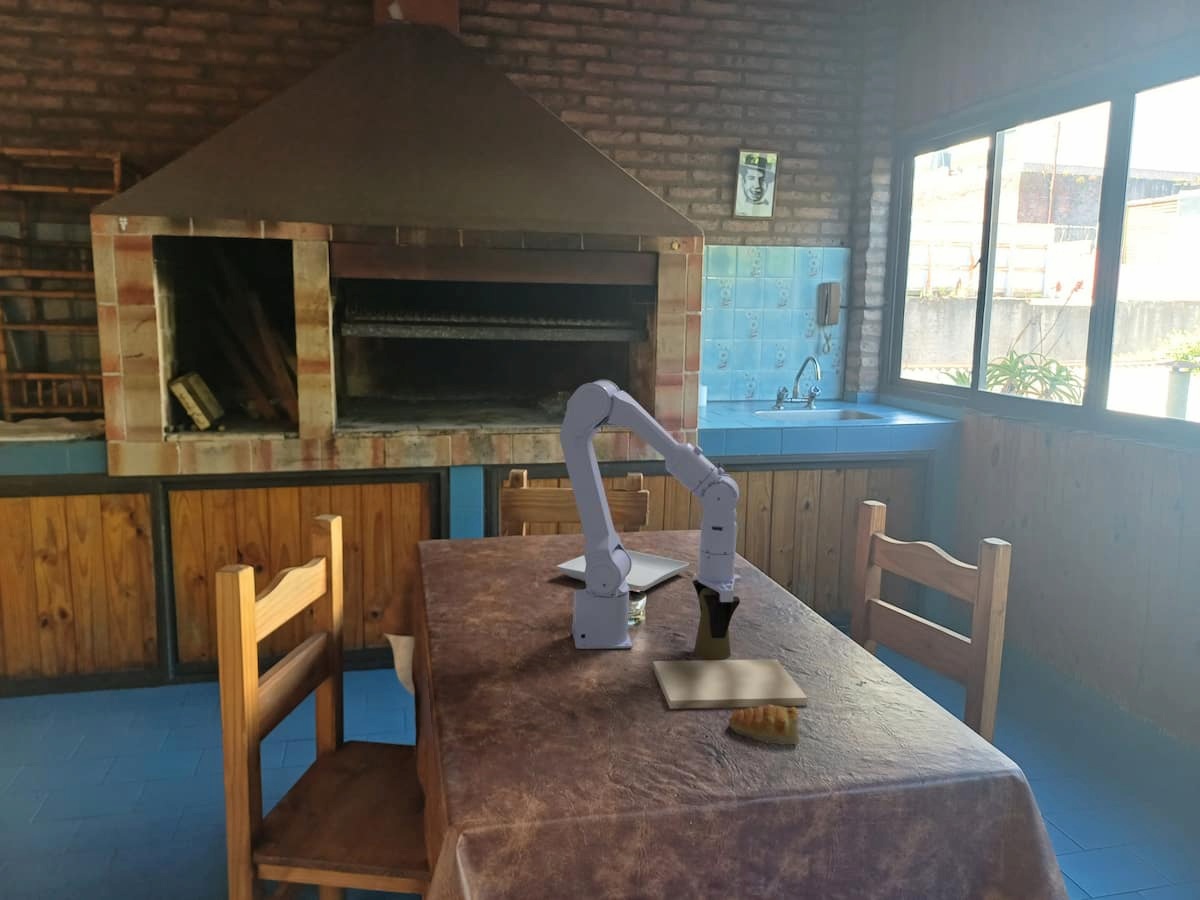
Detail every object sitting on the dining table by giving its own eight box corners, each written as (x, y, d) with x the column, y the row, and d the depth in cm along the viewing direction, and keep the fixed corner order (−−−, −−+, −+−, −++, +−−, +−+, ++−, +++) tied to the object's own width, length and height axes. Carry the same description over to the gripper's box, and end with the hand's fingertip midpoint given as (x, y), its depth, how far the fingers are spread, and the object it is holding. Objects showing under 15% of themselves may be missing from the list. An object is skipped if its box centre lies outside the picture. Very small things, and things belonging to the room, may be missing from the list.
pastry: (727, 741, 112) (729, 713, 112) (729, 718, 119) (730, 692, 118) (801, 749, 111) (802, 721, 110) (798, 725, 117) (799, 699, 117)
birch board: (670, 708, 121) (670, 700, 120) (653, 668, 134) (653, 661, 134) (806, 705, 123) (807, 697, 123) (776, 666, 137) (776, 659, 136)
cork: (690, 646, 144) (693, 583, 143) (726, 645, 145) (729, 583, 143) (698, 660, 138) (701, 594, 137) (734, 659, 139) (738, 594, 137)
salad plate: (690, 576, 185) (691, 560, 185) (642, 601, 167) (642, 584, 167) (607, 559, 196) (608, 544, 196) (554, 581, 178) (554, 565, 178)
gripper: (754, 562, 132) (749, 646, 134) (730, 538, 146) (726, 614, 148) (709, 562, 131) (705, 647, 133) (689, 538, 146) (686, 615, 148)
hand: (713, 630), depth 141 cm, fingers open, 6 cm apart
